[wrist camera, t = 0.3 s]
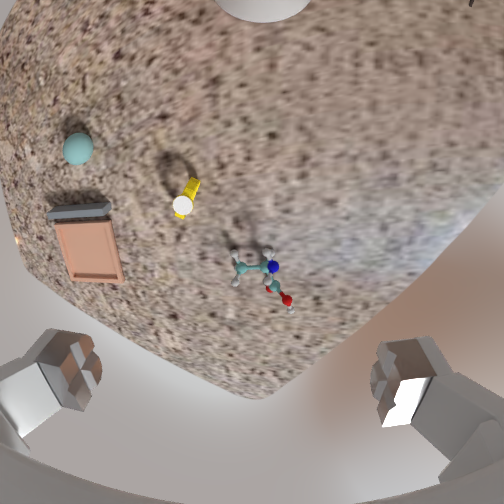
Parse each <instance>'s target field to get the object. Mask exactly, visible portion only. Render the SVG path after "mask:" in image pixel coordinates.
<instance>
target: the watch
mask: <svg viewBox="0 0 504 504" xmlns="http://www.w3.org/2000/svg"><path fill="white" fill-rule="evenodd" d="M199 185H200V180H198V179H195V178H193V177H191V178H190V180H189V181H188V183H187V185H186V187H185V189H184V191H183V193H182V194H181V195H178V196H177V197H176V198H175V199H174V201H173V208H174V210H175V216H176V217H179V218H181V219H184V218H185V216H186V214H189V213H190V212H191V210H192V209H193V199H194V197H195V194H196V192H197V190H198V187H199Z"/></svg>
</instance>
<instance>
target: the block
mask: <svg viewBox="0 0 504 504" xmlns="http://www.w3.org/2000/svg"><path fill="white" fill-rule="evenodd" d="M111 209H112V208H111V203H110V202H103V203H90V204H77V205H65V206H56V207H54V208H53V209H51V210H50V211H49V212H47V216H48V219H60V218H76V217H94V216H104V215H105V214H106V213H108V212H109V211H110V210H111Z"/></svg>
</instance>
